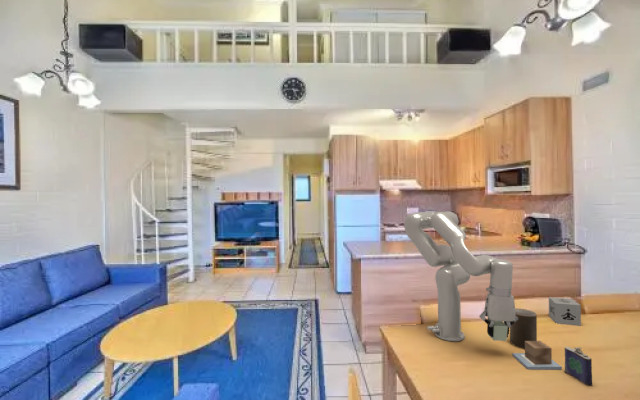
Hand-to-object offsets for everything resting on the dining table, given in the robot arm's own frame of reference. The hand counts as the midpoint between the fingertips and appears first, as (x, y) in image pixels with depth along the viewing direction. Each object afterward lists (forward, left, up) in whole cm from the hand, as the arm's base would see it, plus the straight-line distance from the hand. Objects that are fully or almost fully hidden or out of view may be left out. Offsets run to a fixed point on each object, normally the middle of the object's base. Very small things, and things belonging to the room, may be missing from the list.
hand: (497, 335), depth 127 cm
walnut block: (+11, -7, -7) cm, 15 cm away
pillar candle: (+15, +9, -8) cm, 19 cm away
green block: (0, +1, -1) cm, 1 cm away
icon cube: (+49, +33, -8) cm, 60 cm away
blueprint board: (+11, -6, -8) cm, 15 cm away
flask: (+19, -17, -8) cm, 26 cm away
